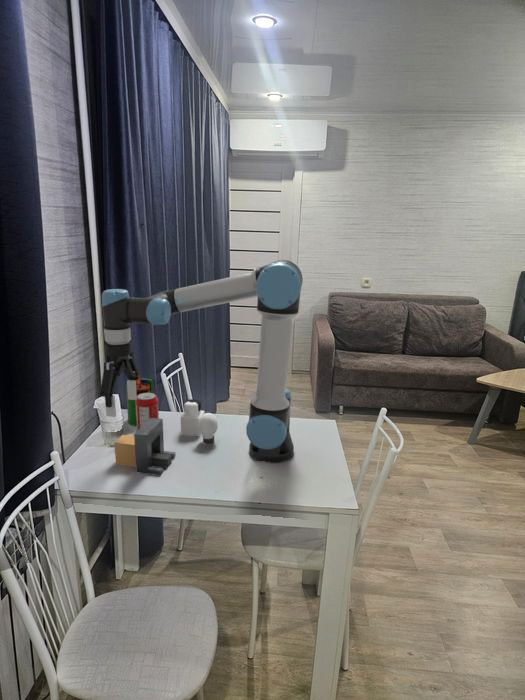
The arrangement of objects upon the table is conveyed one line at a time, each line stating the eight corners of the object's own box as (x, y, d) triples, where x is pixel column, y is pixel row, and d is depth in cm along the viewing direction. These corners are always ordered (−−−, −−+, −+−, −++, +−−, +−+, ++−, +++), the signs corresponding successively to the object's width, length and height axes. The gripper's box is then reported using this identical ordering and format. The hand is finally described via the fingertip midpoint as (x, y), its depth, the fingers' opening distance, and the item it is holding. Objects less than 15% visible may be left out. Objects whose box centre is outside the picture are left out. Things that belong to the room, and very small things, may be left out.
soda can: (140, 440, 156) (138, 401, 152) (134, 432, 162) (132, 393, 158) (162, 436, 160) (160, 397, 156) (155, 427, 166) (154, 390, 162)
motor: (144, 427, 166) (142, 377, 161) (123, 424, 168) (119, 375, 162) (156, 416, 176) (154, 368, 170) (135, 414, 177) (132, 367, 172)
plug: (173, 461, 143) (172, 440, 141) (166, 470, 138) (165, 448, 136) (124, 455, 146) (122, 434, 144) (115, 463, 140) (114, 442, 138)
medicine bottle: (186, 426, 168) (186, 396, 165) (205, 427, 167) (204, 398, 164) (180, 434, 161) (179, 404, 158) (199, 436, 160) (199, 405, 157)
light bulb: (221, 440, 157) (221, 412, 154) (210, 448, 152) (210, 419, 149) (205, 436, 160) (205, 408, 157) (194, 443, 155) (194, 414, 152)
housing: (175, 456, 146) (174, 420, 142) (160, 475, 135) (159, 436, 131) (152, 453, 147) (151, 417, 144) (136, 472, 136) (134, 433, 132)
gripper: (126, 331, 144) (129, 392, 150) (82, 351, 121) (89, 422, 127) (147, 333, 143) (150, 394, 149) (108, 353, 120) (113, 425, 125)
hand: (122, 407), depth 138 cm, fingers open, 13 cm apart
